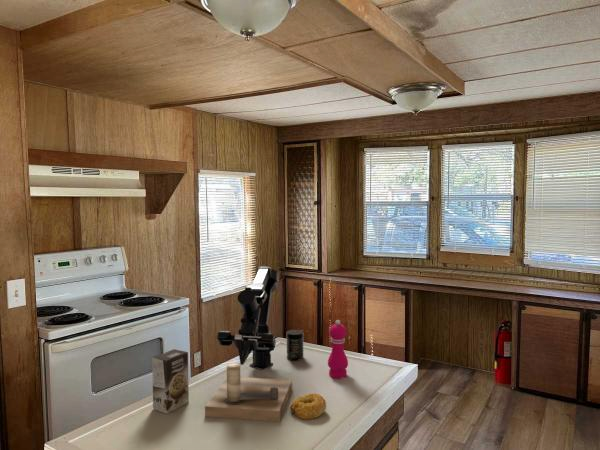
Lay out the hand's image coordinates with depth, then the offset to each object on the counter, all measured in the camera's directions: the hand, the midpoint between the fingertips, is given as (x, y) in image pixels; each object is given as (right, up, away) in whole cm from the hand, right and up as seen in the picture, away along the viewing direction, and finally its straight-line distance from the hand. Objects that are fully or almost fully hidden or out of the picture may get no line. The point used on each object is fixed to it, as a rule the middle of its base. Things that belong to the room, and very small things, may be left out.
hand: (241, 364), depth 143 cm
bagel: (+21, -12, -9) cm, 26 cm away
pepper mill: (+32, -10, +18) cm, 38 cm away
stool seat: (+3, -11, -2) cm, 12 cm away
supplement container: (+17, -9, +36) cm, 40 cm away
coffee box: (-21, -12, -5) cm, 24 cm away
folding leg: (+4, -8, -8) cm, 12 cm away
